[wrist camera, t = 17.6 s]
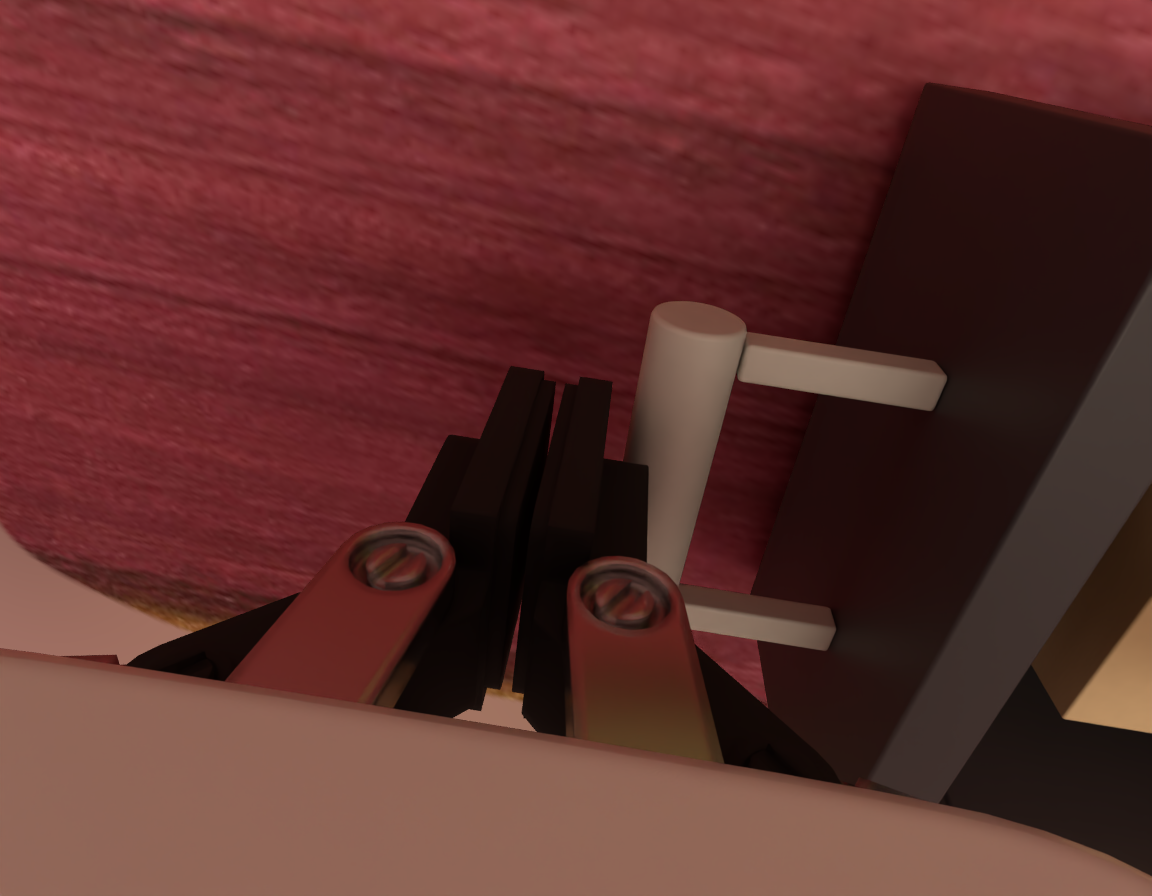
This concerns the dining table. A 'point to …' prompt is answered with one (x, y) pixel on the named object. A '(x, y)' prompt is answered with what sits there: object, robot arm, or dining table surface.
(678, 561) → the pull-out tray
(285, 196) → the dining table surface
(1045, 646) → the block
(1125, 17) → the dining table surface
